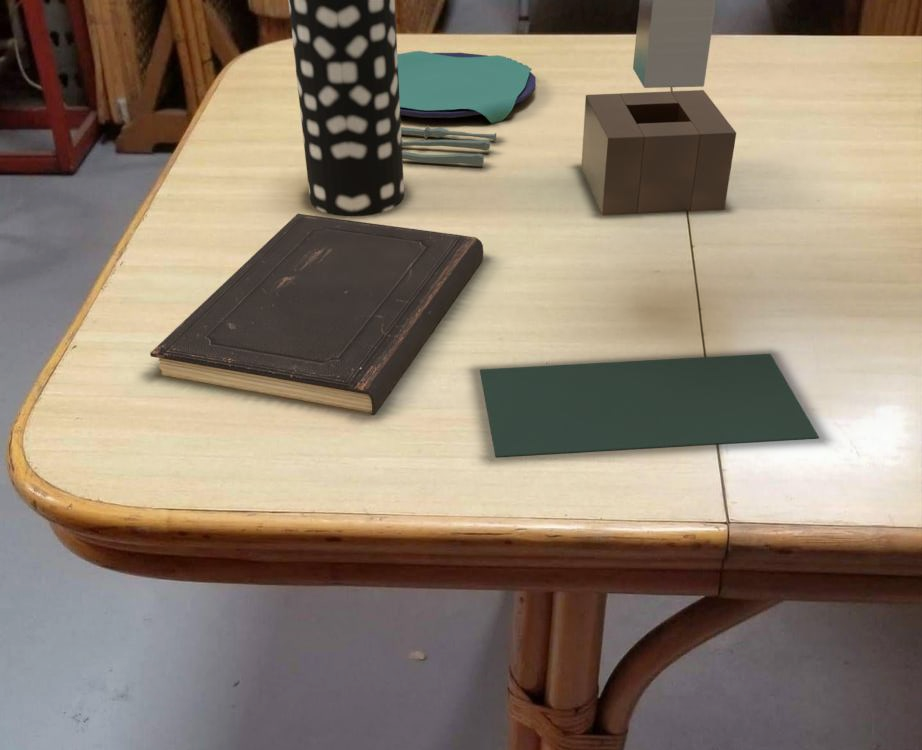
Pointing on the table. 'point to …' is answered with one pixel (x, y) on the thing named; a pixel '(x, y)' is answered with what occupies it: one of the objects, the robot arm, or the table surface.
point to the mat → (641, 405)
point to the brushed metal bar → (673, 42)
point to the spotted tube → (349, 103)
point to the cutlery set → (458, 96)
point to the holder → (656, 152)
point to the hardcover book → (324, 312)
